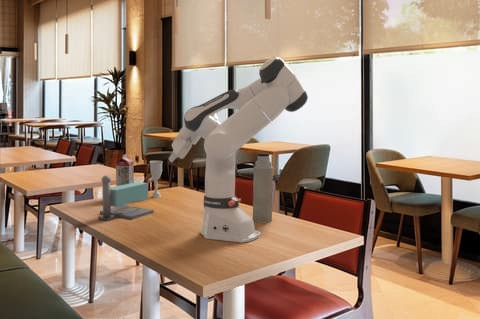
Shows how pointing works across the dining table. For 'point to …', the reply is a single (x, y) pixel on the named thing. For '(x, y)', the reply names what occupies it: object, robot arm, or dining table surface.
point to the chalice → (156, 175)
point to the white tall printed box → (124, 171)
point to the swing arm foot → (106, 218)
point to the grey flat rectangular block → (129, 212)
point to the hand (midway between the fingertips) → (170, 160)
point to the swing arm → (122, 194)
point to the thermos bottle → (262, 189)
